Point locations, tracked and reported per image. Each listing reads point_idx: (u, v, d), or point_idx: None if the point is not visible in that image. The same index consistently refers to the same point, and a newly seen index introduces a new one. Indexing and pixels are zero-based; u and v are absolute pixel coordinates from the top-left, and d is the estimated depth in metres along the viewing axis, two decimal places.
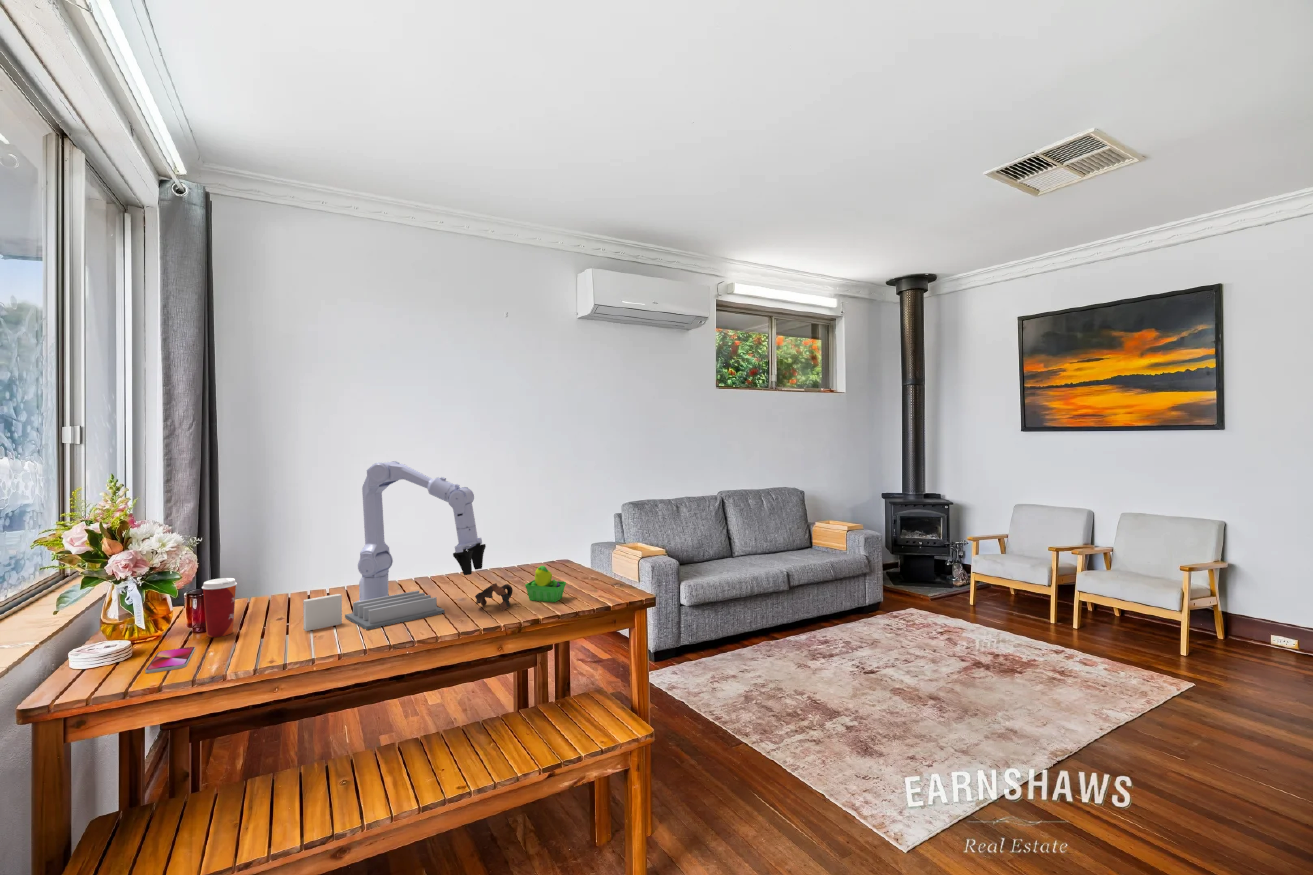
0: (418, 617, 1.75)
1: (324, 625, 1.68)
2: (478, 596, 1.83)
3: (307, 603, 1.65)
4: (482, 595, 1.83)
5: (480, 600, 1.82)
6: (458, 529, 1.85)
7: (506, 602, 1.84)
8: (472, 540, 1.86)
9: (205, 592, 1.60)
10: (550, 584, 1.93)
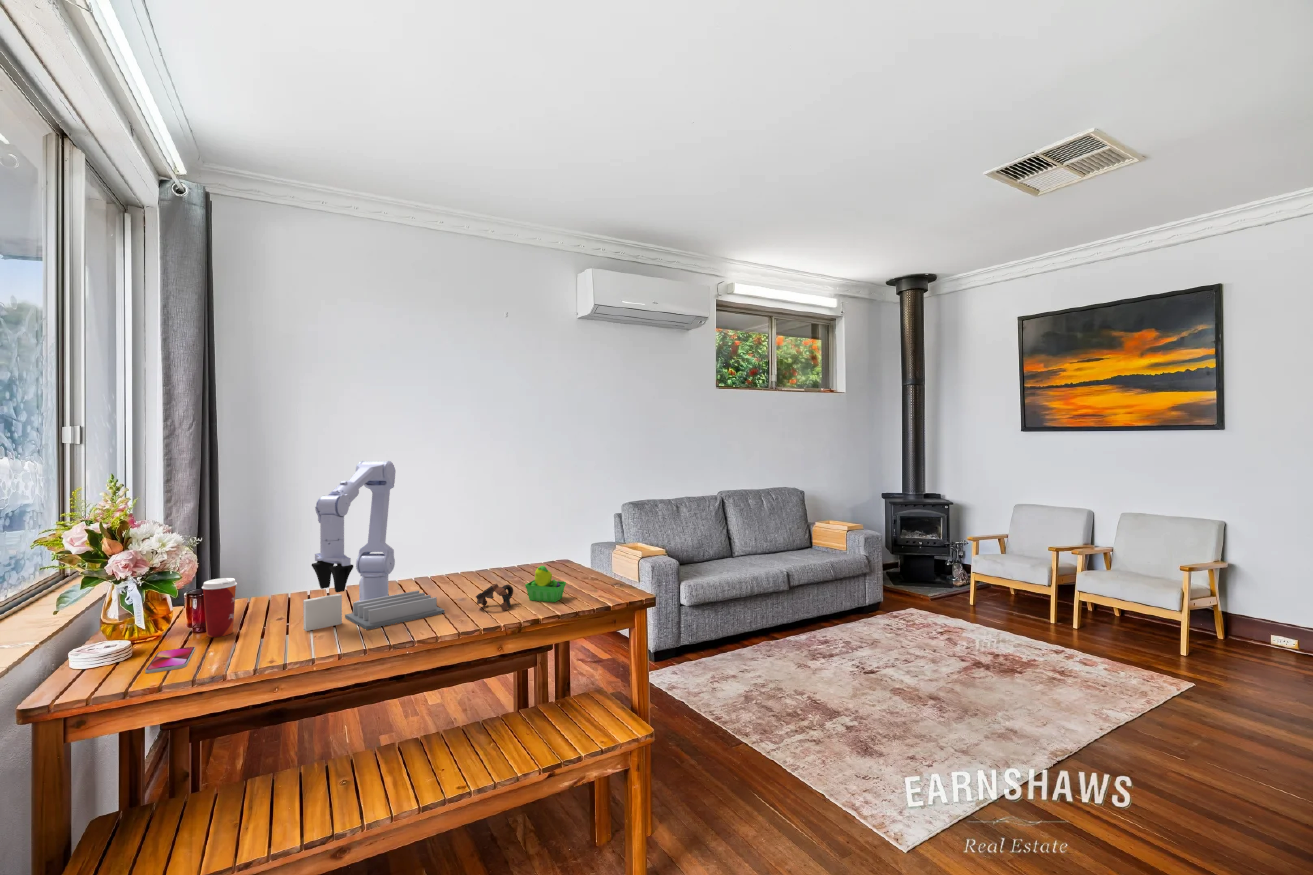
0: (418, 617, 1.75)
1: (324, 625, 1.68)
2: (479, 596, 1.83)
3: (307, 603, 1.65)
4: (483, 595, 1.82)
5: (481, 600, 1.82)
6: None
7: (507, 602, 1.84)
8: None
9: (205, 592, 1.60)
10: (550, 584, 1.93)
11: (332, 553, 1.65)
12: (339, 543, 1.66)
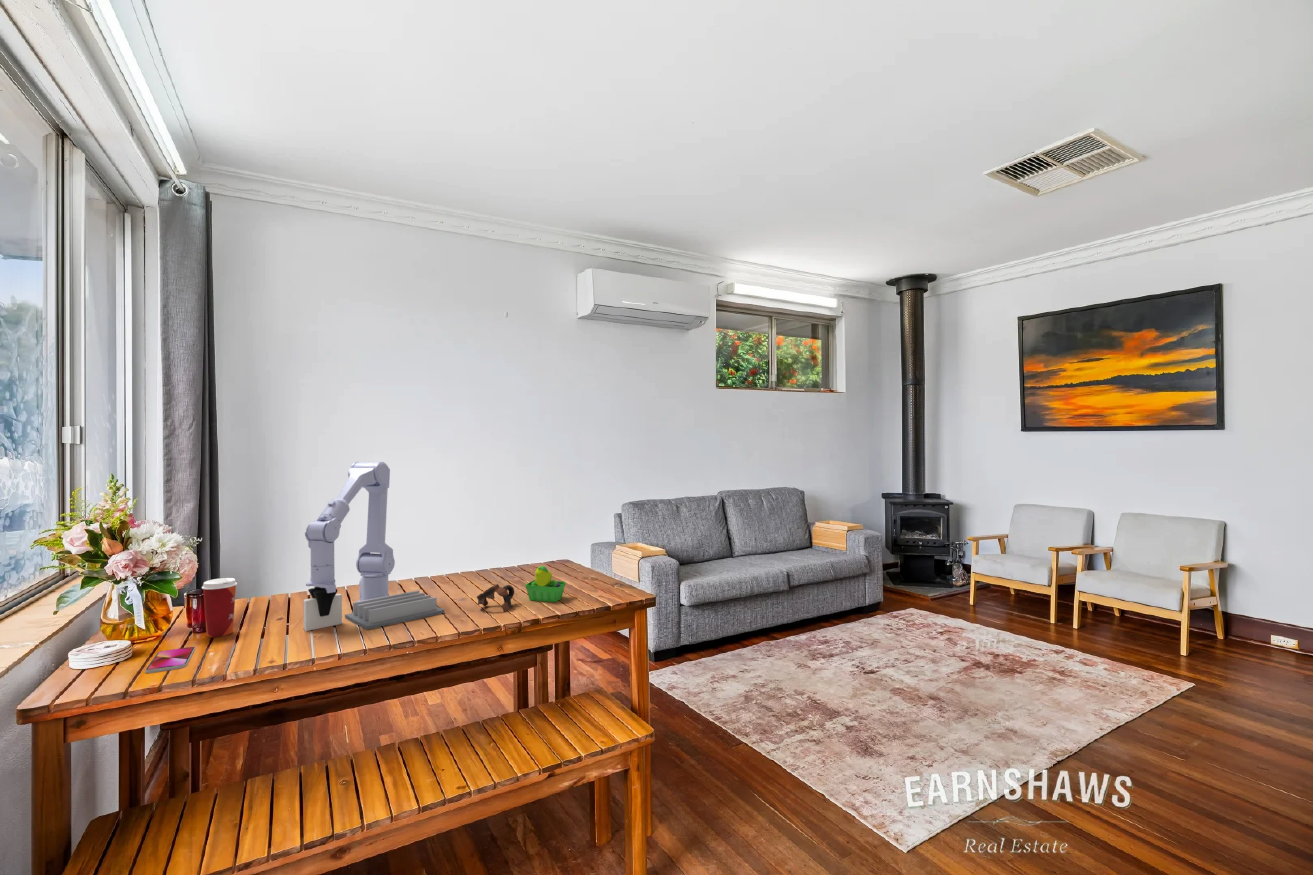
0: (418, 617, 1.75)
1: (324, 625, 1.68)
2: (480, 597, 1.82)
3: (307, 603, 1.65)
4: (484, 596, 1.82)
5: (482, 601, 1.81)
6: None
7: (508, 603, 1.84)
8: None
9: (205, 592, 1.60)
10: (550, 584, 1.93)
11: (320, 579, 1.66)
12: (327, 569, 1.67)
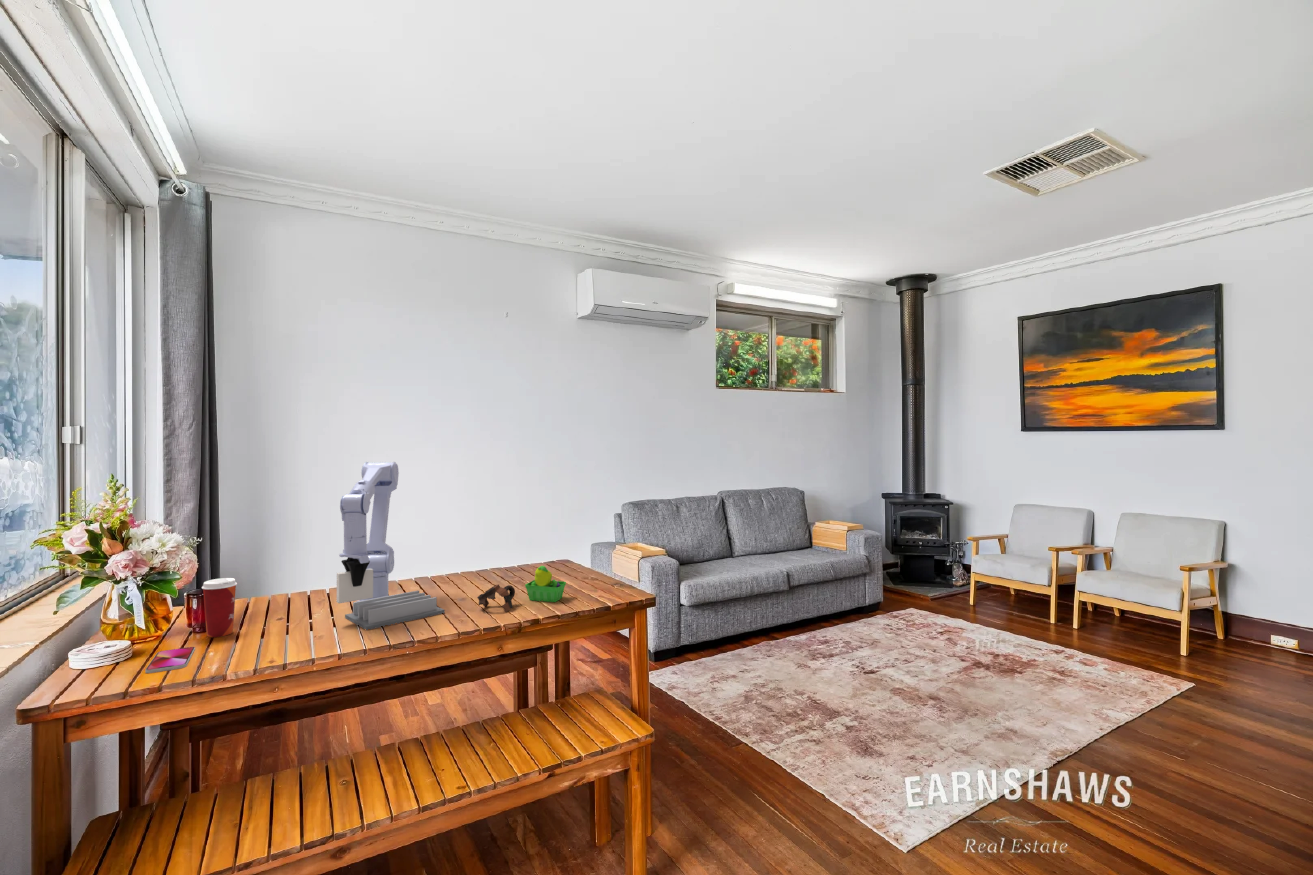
0: (418, 617, 1.75)
1: (356, 598, 1.72)
2: (481, 597, 1.82)
3: (340, 576, 1.69)
4: (485, 596, 1.81)
5: (483, 601, 1.81)
6: None
7: (509, 603, 1.83)
8: None
9: (205, 592, 1.60)
10: (550, 584, 1.93)
11: (354, 550, 1.70)
12: (360, 540, 1.71)
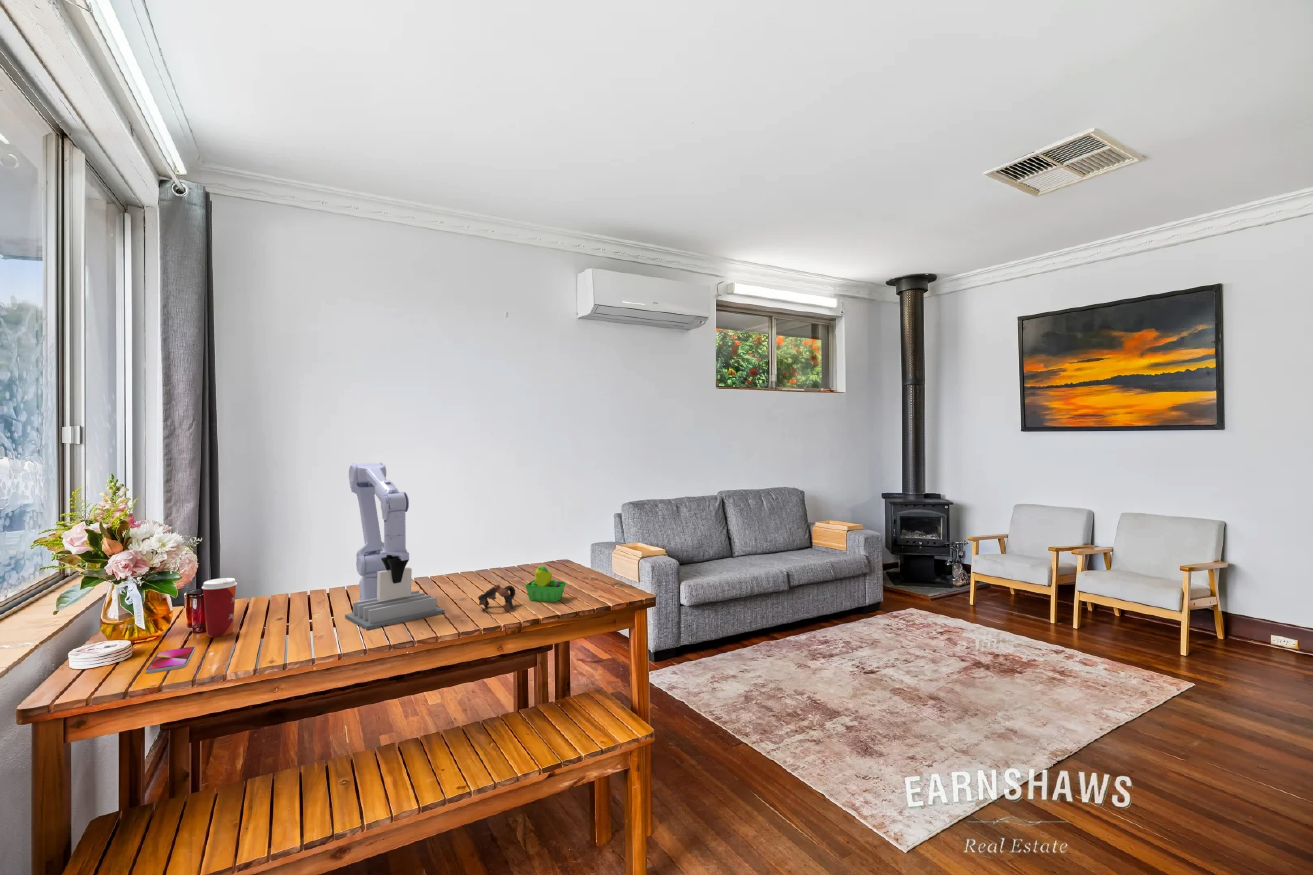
0: (418, 617, 1.75)
1: (395, 596, 1.78)
2: (481, 597, 1.81)
3: (381, 574, 1.75)
4: (485, 596, 1.81)
5: (483, 601, 1.81)
6: None
7: (509, 603, 1.83)
8: None
9: (205, 592, 1.60)
10: (550, 584, 1.93)
11: (394, 548, 1.76)
12: (400, 538, 1.77)
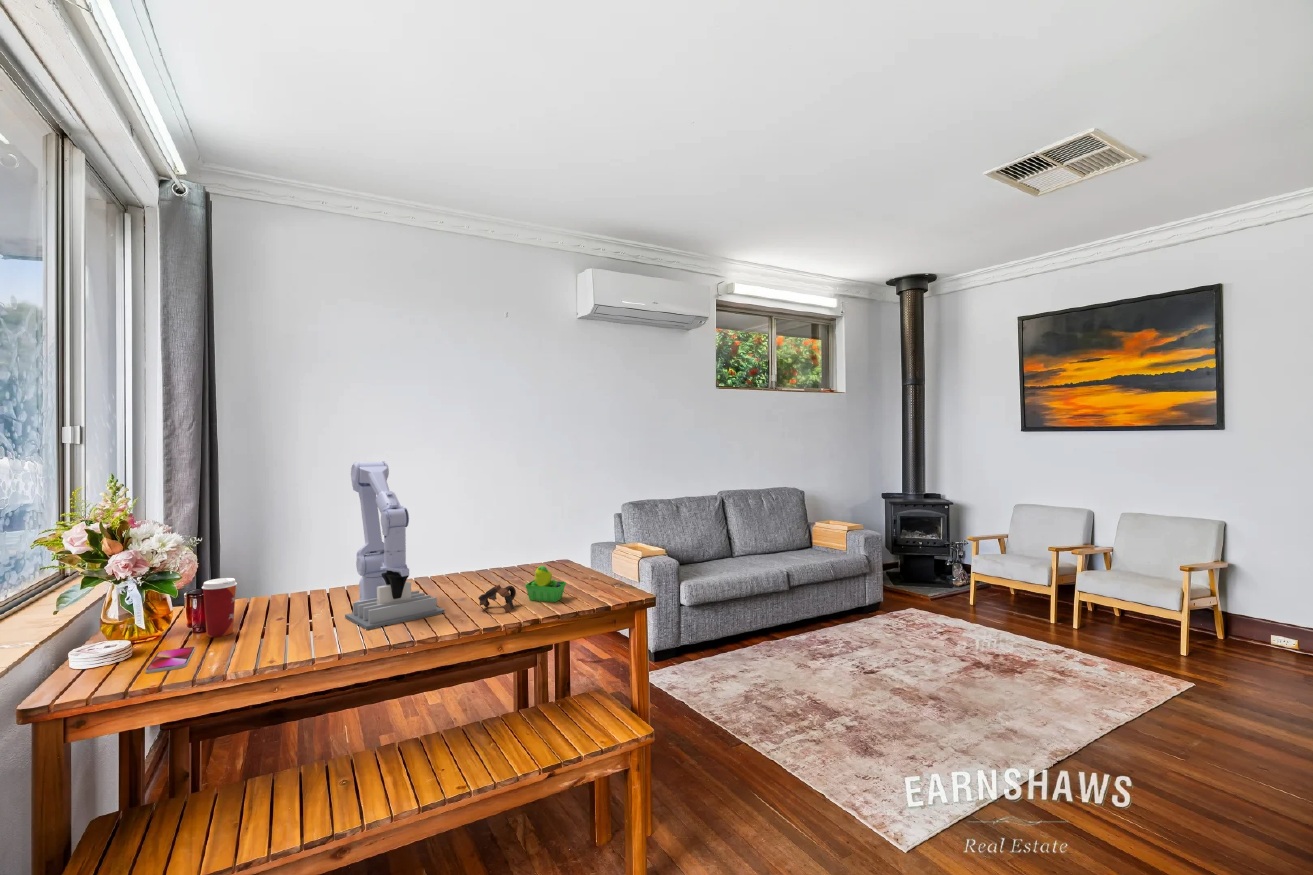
0: (418, 617, 1.75)
1: None
2: (482, 598, 1.81)
3: (381, 590, 1.75)
4: (486, 597, 1.81)
5: (484, 602, 1.80)
6: None
7: (510, 604, 1.83)
8: None
9: (205, 592, 1.60)
10: (550, 584, 1.93)
11: (394, 563, 1.76)
12: (400, 554, 1.77)
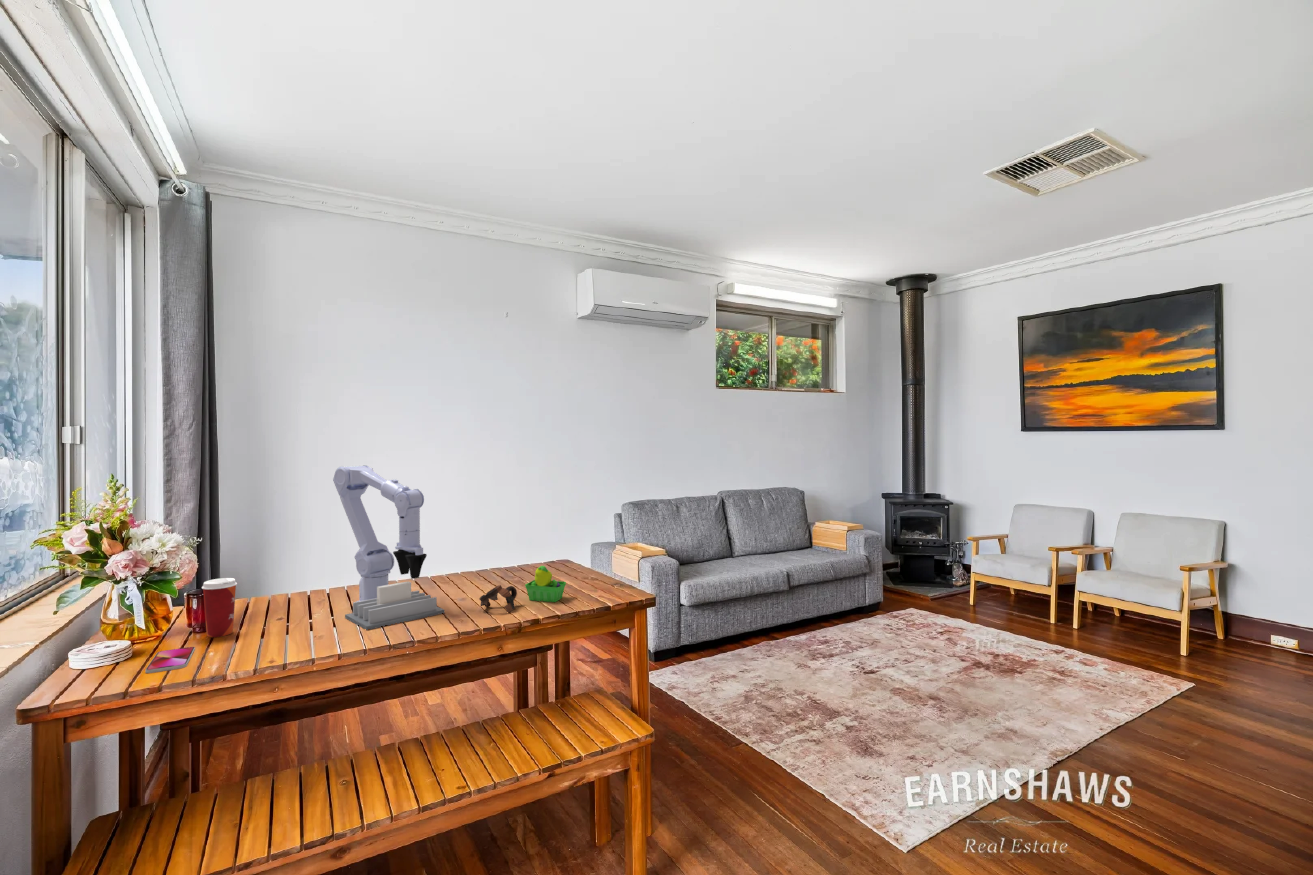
0: (418, 617, 1.75)
1: None
2: (483, 598, 1.81)
3: (381, 590, 1.75)
4: (487, 597, 1.80)
5: (485, 602, 1.80)
6: None
7: (511, 604, 1.82)
8: None
9: (205, 592, 1.60)
10: (550, 584, 1.93)
11: (409, 543, 1.82)
12: (414, 534, 1.83)
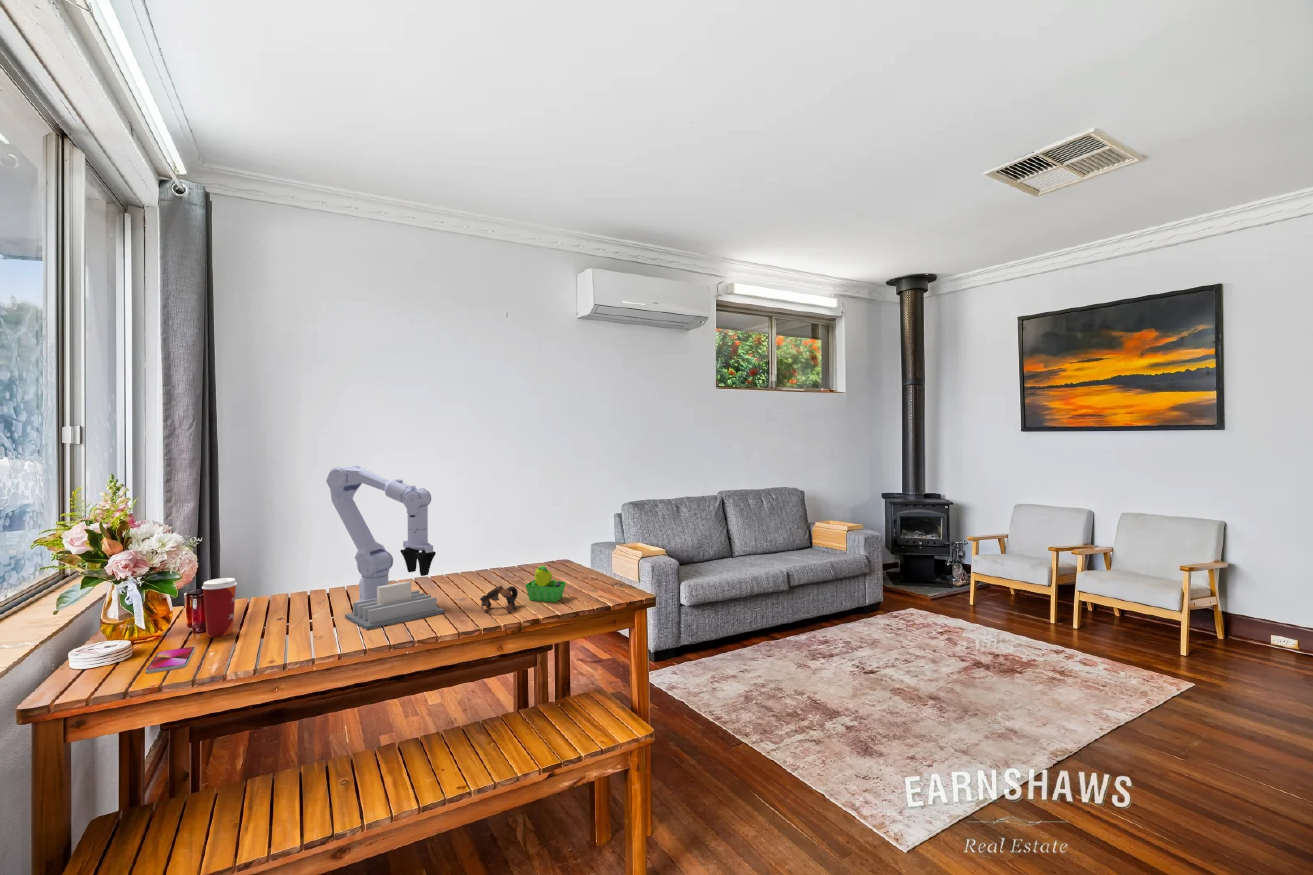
0: (418, 617, 1.75)
1: None
2: (484, 599, 1.80)
3: (381, 590, 1.75)
4: (488, 597, 1.80)
5: (486, 603, 1.79)
6: None
7: (512, 604, 1.82)
8: None
9: (205, 592, 1.60)
10: (550, 584, 1.93)
11: (418, 541, 1.86)
12: (423, 532, 1.87)
